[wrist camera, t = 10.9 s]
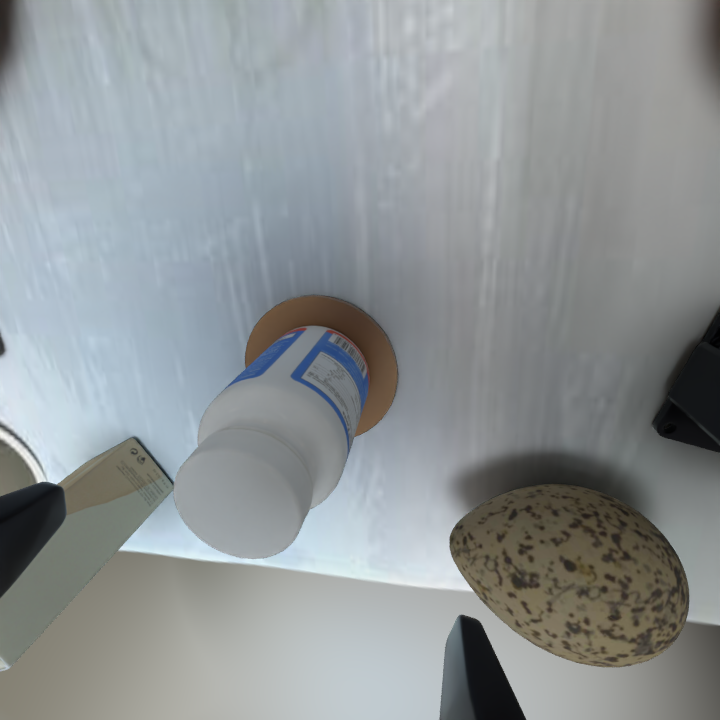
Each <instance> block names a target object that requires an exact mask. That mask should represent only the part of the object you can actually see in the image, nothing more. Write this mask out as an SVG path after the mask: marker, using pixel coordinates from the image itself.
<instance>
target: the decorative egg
mask: <svg viewBox="0 0 720 720" xmlns="http://www.w3.org/2000/svg"><path fill="white" fill-rule="evenodd" d="M450 551H451V555H452V558H453V560H454V562H455V564H456V565H457V567H458V569H459V571H460V572H461V574H462V575H463V577H464V578H465V579H466V581H467V582H468V584H469V585H470V587H471V588H472V589H473V590H474V592H475V593H476V594H477V595H478V597H479V598H480V599H481V600H482V601H483V603H484V604H486V606H487V607H488V608H489V609H490V610H491V611H492V612H493V613H494V614H495V615H496V616H497V617H499V618H500V619H501V620H502V621H503V622H504V623H506V624H507V625H508V626H509V627H510V628H511V629H512V630H514V631H515V632H517V633H518V634H519V635H521V636H522V637H524V638H525V639H527V640H528V641H530V642H531V643H533V644H534V645H536V646H538V647H540V648H542V649H544V650H546V651H548V652H550V653H552V654H554V655H556V656H559V657H562V658H565V659H567V660H571V661H574V662H576V663H581V664H586V665H591V666H599V667H624V666H631V665H635V664H638V663H642V662H645V661H648V660H650V659H652V658H654V657H656V656H658V655H659V654H661V653H662V652H664V651H665V650H666V649H668V647H670V646H671V645H672V644H673V642H674V641H675V640H676V639H677V637H678V636H679V634H680V632H681V631H682V629H683V627H684V624H685V622H686V618H687V614H688V609H689V587H688V582H687V578H686V574H685V571H684V569H683V566H682V564H681V562H680V559H679V557H678V555H677V554H676V552H675V550H674V549H673V547H672V546H671V545H670V543H669V542H668V540H667V539H666V538H665V536H664V535H663V534H662V533H661V532H660V531H659V530H658V529H657V528H656V526H654V525H653V524H652V523H651V522H650V521H649V520H648V519H647V518H645V517H644V516H643V515H642V514H640V513H639V512H637V511H636V510H635V509H633V508H631V507H630V506H628V505H626V504H625V503H623V502H621V501H619V500H617V499H615V498H613V497H611V496H609V495H606V494H603V493H601V492H598V491H595V490H592V489H588V488H584V487H580V486H574V485H565V484H542V485H534V486H528V487H523V488H519V489H516V490H513V491H509V492H507V493H504V494H502V495H499V496H497V497H495V498H492V499H490V500H488V501H487V502H485V503H483V504H481V505H479V506H478V507H476V508H475V509H473V510H472V511H470V512H469V513H468V514H467V515H465V516H464V517H463V518H462V519H461V520H460V521H459V522H458V523H457V524H456V526H455V527H454V528H453V530H452V533H451V535H450Z"/></svg>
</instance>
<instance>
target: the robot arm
mask: <svg viewBox="0 0 720 720" xmlns="http://www.w3.org/2000/svg"><path fill="white" fill-rule="evenodd" d="M668 396H669V397H668V399H667V400H666V402H665V404H664V405H663V407H662V409H661V410H660V412H659V414H658V415H657V417H656V419H655V420H654V423H653V428H654V429H655V430H656V431H657V433H658V434H659V435H660V436H662V437H664V438H668V439H672V440H675V441H679V442H683V443H686V444H690V445H694V446H697V447H701V448H705V449H708V450H712V451H716V452H719V453H720V312H719V314H718V315H717V317H716V319H715V320H714V322H713V324H712V325H711V327H710V329H709V330H708V332H707V334H706V335H705V337H704V339H703V340H702V342H701V344H700V345H698V346H697V347H696V348H695V350H694V352H693V353H692V355H691V357H690V358H689V360H688V362H687V363H686V365H685V367H684V368H683V370H682V372H681V373H680V375H679V377H678V378H677V380H676V382H675V383H674V385H673V387H672V388H671V390H670V392H669V394H668ZM669 423H671V426H670V427H669V428H666V429H663V428H664V426H665V425H666V424H669ZM66 515H67V509H66V501H65V492H64V489H63V488H62V487H61V486H59V485H56V484H53V483H50V482H41V483H37V484H34V485H32V486H29V487H26V488H23V489H20V490H17V491H14V492H11V493H9V494H6V495H3V496H0V598H1V597H2V596H3V595H4V594H5V593H6V592H7V591H8V589H9V588H10V587H11V586H12V585H13V584H14V583H15V581H16V580H17V579H18V578H19V577H20V575H21V574H22V573H23V572H24V571H25V569H26V568H27V567H28V566H29V564H30V563H31V562H32V561H33V560H34V558H35V557H36V556H37V555H38V553H39V552H40V551H41V550H42V549H43V547H44V546H45V545H46V544H47V542H48V541H49V540H50V539H51V537H52V536H53V535H54V534H55V533H56V531H57V530H58V529H59V528H60V526H61V525H62V524H63V522H64V520H65V518H66ZM440 720H526V718H525V716H524V714H523V711H522V709H521V707H520V705H519V703H518V701H517V699H516V697H515V694H514V692H513V690H512V688H511V686H510V684H509V682H508V680H507V678H506V675H505V673H504V671H503V669H502V667H501V665H500V663H499V660H498V658H497V656H496V654H495V652H494V650H493V648H492V645H491V643H490V641H489V639H488V637H487V635H486V633H485V631H484V628H483V626H482V625H481V623H480V622H479V621H478V620H477V619H475V618H471V617H468V616H465V615H459V616H458V617H457V619H456V621H455V623H454V625H453V628H452V630H451V632H450V634H449V636H448V639H447V642H446V647H445V657H444V669H443V683H442V695H441V708H440Z"/></svg>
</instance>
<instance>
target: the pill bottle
mask: <svg viewBox="0 0 720 720" xmlns="http://www.w3.org/2000/svg"><path fill="white" fill-rule="evenodd" d="M369 384H370V376H369V369H368V366H367V363H366V360H365V358H364V356H363V354H362V353H361V351H360V350H359V348H358V347H357V346H356V345H355V344H354V343H353V342H352V341H351V340H350V339H348V338H347V337H346V336H344V335H343V334H341V333H339V332H337V331H335V330H333V329H330V328H326V327H322V326H303V327H299V328H296V329H293V330H291V331H289V332H287V333H285V334H284V335H283V336H281V337H280V338H279V339H277V340H276V341H275V342H274V343H273V344H272V345H271V346H270V347H269V348H268V349H267V350H265V351H264V352H263V353H262V354H261V355H260V356H259V357H258V358H257V359H256V360H255V361H254V362H253V363H252V364H250V365H249V366H248V367H247V368H246V369H245V370H244V371H243V372H242V373H241V374H240V375H239V376H237V377H236V379H235V380H234V381H232V382H231V383H230V384H229V385H228V386H227V387H226V388H225V389H224V390H223V391H222V392H221V393H220V394H219V395H218V396H217V397H216V398H215V399H214V400H213V401H212V402H211V404H210V405H209V406H208V408H207V409H206V411H205V413H204V415H203V417H202V419H201V422H200V426H199V431H198V447H197V449H196V450H195V451H194V452H193V453H192V454H191V455H190V457H189V458H188V459H187V460H186V461H185V462H184V463H183V465H182V466H181V467H180V469H179V471H178V472H177V475H176V478H175V481H174V489H173V492H174V500H175V504H176V507H177V510H178V512H179V514H180V516H181V518H182V519H183V521H184V522H185V524H186V525H187V527H188V528H189V529H190V530H191V531H192V532H193V533H194V534H195V535H196V536H197V537H198V538H199V539H201V540H202V541H203V542H205V543H206V544H208V545H209V546H211V547H212V548H214V549H216V550H218V551H221V552H223V553H226V554H228V555H232V556H235V557H239V558H248V559H258V558H266V557H270V556H273V555H276V554H278V553H280V552H282V551H284V550H285V549H286V548H287V547H289V546H290V545H291V544H292V542H293V541H294V540H295V539H296V537H297V535H298V533H299V531H300V529H301V526H302V524H303V522H304V519H305V517H306V515H307V514H308V512H309V510H310V509H312V508H314V507H316V506H317V505H319V504H320V503H321V502H323V501H324V500H325V499H326V498H327V497H328V496H329V495H330V494H331V493H332V492H333V490H334V489H335V487H336V486H337V484H338V482H339V480H340V478H341V475H342V472H343V470H344V467H345V464H346V461H347V458H348V455H349V451H350V448H351V445H352V442H353V439H354V436H355V433H356V430H357V427H358V423H359V420H360V417H361V413H362V410H363V407H364V404H365V401H366V398H367V395H368V390H369Z"/></svg>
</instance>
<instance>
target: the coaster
mask: <svg viewBox="0 0 720 720" xmlns="http://www.w3.org/2000/svg"><path fill="white" fill-rule="evenodd" d="M303 326H322V327H326V328H330V329H333V330H335V331H337V332H339V333H341V334H343V335H344V336H346V337H347V338H348V339H350V340H351V341H352V342H353V343H354V344H355V345H356V346H357V347H358V348H359V350H360V351H361V353H362V354H363V356H364V358H365V360H366V363H367V366H368V369H369V376H370V384H369V390H368V395H367V398H366V401H365V404H364V407H363V410H362V413H361V417H360V420H359V423H358V427H357V430H356V433H355V436H354V437H356V436H358V435H361V434H362V433H364V432H366V431H368V430H369V429H371V428H372V427H373V426H375V425H376V424H377V423H378V422H379V421H380V420H381V419H382V418H383V417H384V415H385V414H386V413H387V411H388V409H389V408H390V406H391V404H392V401H393V399H394V396H395V392H396V387H397V380H398V370H397V362H396V357H395V353H394V351H393V348H392V345H391V343H390V342H389V340H388V338H387V336H386V334H385V333H384V332H383V330H382V329H381V327H380V326H379V325H378V324H377V323H376V322H375V321H374V320H373V319H372V318H371V317H370V316H369V315H367V314H366V313H365V312H364V311H362V310H361V309H359V308H357V307H356V306H354V305H352V304H350V303H348V302H346V301H343V300H340V299H337V298H333V297H328V296H320V295H309V296H301V297H296V298H292V299H290V300H287V301H284V302H282V303H281V304H279V305H277V306H275V307H274V308H272V309H271V310H270V311H268V312H267V313H266V314H265V315H264V316H263V317H262V318H261V319H260V320H259V321H258V323H257V324H256V326H255V327H254V329H253V331H252V333H251V335H250V337H249V340H248V343H247V348H246V353H245V367H246V368H247V367H248V366H249V365H250V364H252V363H253V362H254V361H255V360H256V359H257V358H258V357H259V356H260V355H261V354H262V353H263V352H264V351H265V350H267V349H268V348H269V347H270V346H271V345H272V344H273V343H274V342H275V341H276V340H277V339H279V338H280V337H281V336H283V335H284V334H285V333H287V332H289V331H291V330H293V329H296V328H299V327H303Z"/></svg>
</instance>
